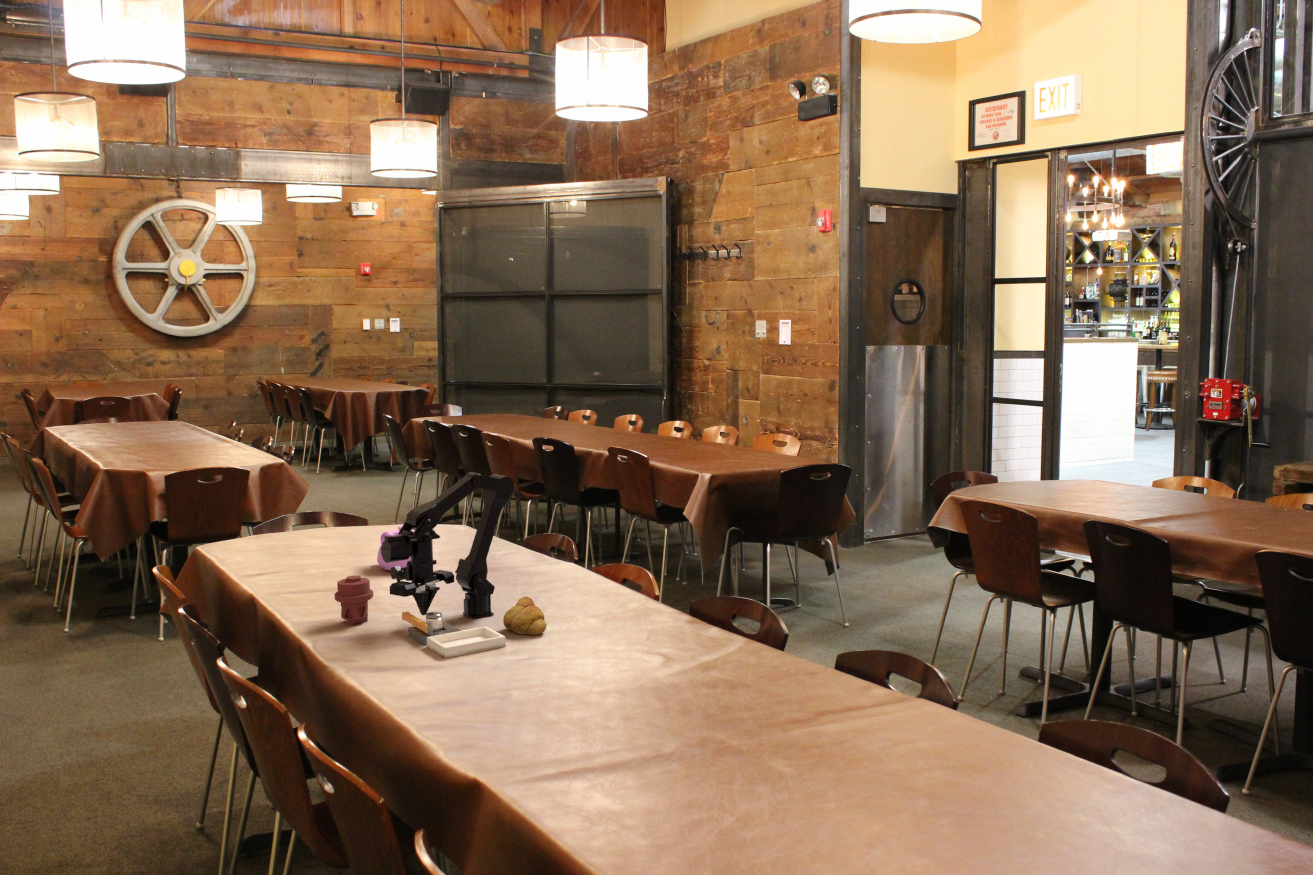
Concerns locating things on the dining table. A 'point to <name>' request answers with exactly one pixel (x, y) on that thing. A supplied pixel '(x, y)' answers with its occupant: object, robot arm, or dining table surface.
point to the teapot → (396, 563)
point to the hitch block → (422, 636)
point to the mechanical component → (354, 598)
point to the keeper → (418, 623)
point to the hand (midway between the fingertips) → (423, 614)
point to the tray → (465, 642)
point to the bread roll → (525, 618)
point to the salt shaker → (435, 620)
